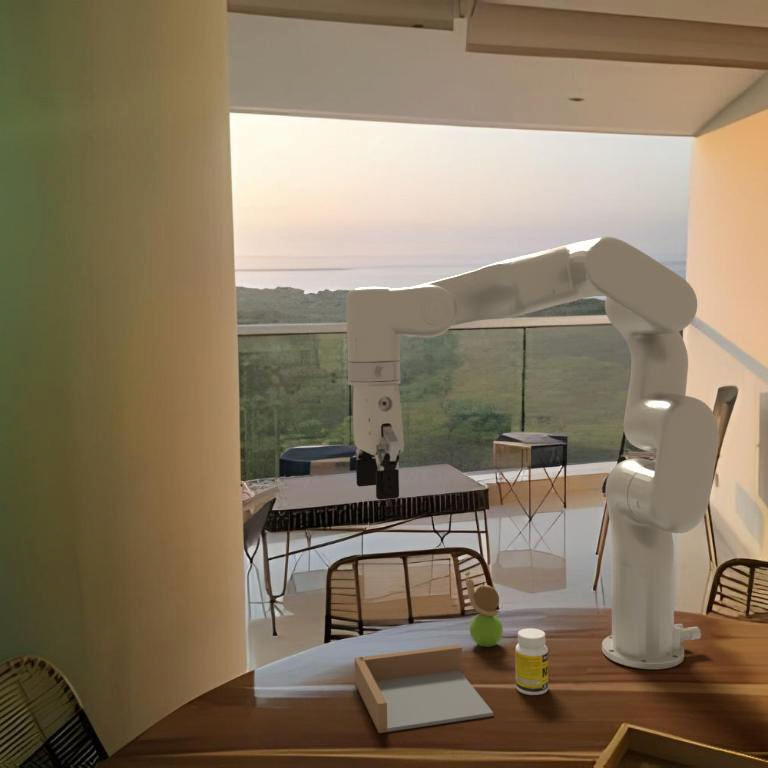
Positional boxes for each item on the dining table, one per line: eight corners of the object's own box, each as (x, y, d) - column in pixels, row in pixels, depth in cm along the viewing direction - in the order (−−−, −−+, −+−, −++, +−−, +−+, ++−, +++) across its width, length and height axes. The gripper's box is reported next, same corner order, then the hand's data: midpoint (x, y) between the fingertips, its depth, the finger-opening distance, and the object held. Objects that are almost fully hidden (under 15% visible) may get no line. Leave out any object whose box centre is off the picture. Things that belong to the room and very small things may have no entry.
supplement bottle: (548, 697, 114) (547, 640, 113) (515, 695, 115) (514, 638, 114) (548, 682, 118) (547, 627, 118) (516, 680, 119) (515, 626, 119)
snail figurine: (474, 635, 137) (473, 567, 136) (508, 643, 133) (507, 573, 132) (459, 646, 132) (457, 576, 132) (493, 654, 129) (492, 582, 128)
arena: (459, 669, 124) (459, 644, 123) (496, 715, 109) (496, 687, 109) (355, 683, 120) (354, 657, 119) (378, 733, 105) (378, 704, 105)
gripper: (419, 376, 106) (422, 501, 108) (380, 370, 123) (383, 479, 124) (366, 378, 104) (369, 506, 105) (333, 372, 120) (336, 483, 122)
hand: (377, 491), depth 115 cm, fingers open, 9 cm apart
